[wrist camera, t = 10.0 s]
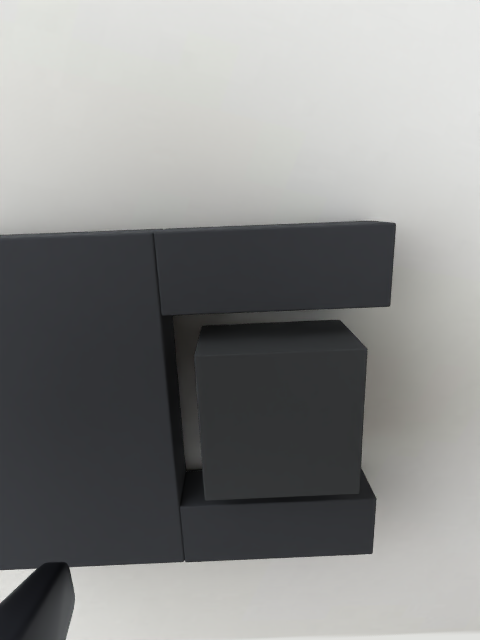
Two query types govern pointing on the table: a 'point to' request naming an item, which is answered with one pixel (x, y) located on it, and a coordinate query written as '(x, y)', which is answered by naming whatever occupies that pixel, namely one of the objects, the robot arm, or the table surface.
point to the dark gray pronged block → (155, 389)
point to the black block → (280, 409)
